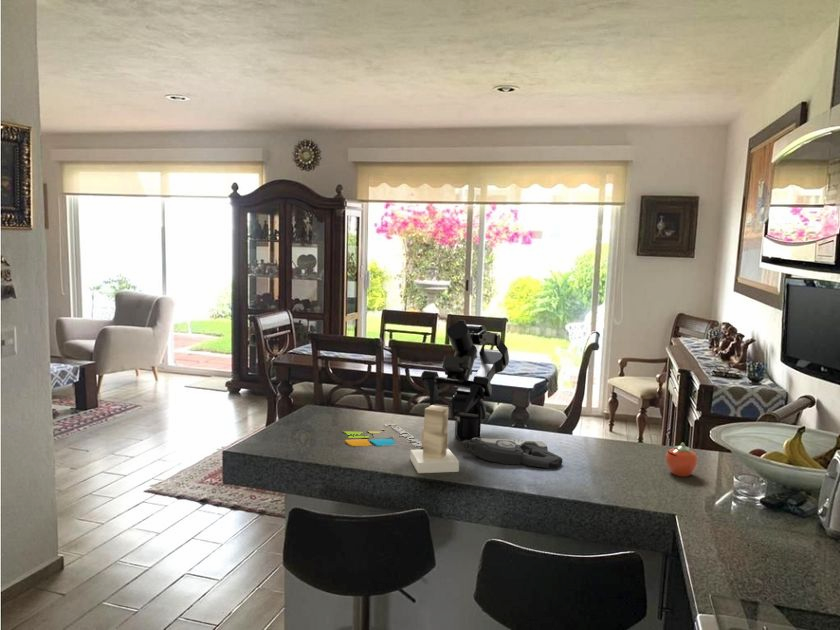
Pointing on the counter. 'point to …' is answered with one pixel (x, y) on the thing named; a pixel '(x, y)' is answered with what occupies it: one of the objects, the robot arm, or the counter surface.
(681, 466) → the tomato
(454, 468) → the slab
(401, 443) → the counter surface
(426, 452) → the beech block
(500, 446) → the sci-fi pistol
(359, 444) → the logo
